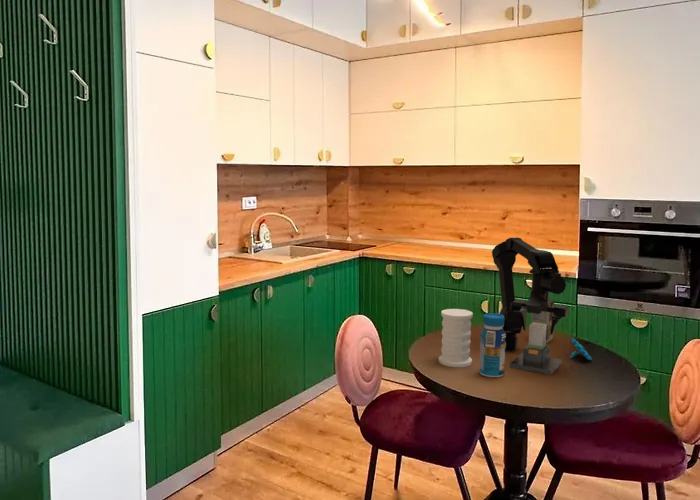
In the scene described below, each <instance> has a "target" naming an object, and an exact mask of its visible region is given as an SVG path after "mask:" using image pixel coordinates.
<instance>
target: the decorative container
mask: <svg viewBox="0 0 700 500" xmlns="http://www.w3.org/2000/svg"><path fill="white" fill-rule="evenodd" d="M440 314H441V317H442V321H441V325H442V328H441V329H442V330H441V335H442V338H441V349H440V351H441V355H439V356H438V363H439V364H441V365H442V366H445V367H450V368H468V367H470V366H471V365H472V364H473V359H472V357H470V354H471V348H470V347H471V343H472V342H471V335H472V331H471V328H472V321H471V320H472V318H473V316H474V315H473V314H474V313H473V312H472V311H470V310H468V309H463V308H446V309H443V310H441V313H440Z"/></svg>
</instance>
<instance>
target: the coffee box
mask: <svg viewBox="0 0 700 500" xmlns="http://www.w3.org/2000/svg"><path fill="white" fill-rule="evenodd" d="M548 302H549V307H555V300H554V299H550V298H549V299H548ZM552 316H554V314H553V313H552V312H544V311H542V312H541V313H540V314H536V313H531V317H530V318H531V319H530V324H531V323H533V322H536V323H543V324H547V326H546V344H548V343H549V342H550V341H552V340H553V335H554V333H553V334H552V335H551V325H552Z"/></svg>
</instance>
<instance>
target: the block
mask: <svg viewBox="0 0 700 500" xmlns="http://www.w3.org/2000/svg"><path fill="white" fill-rule="evenodd" d="M546 326H547V324H543V323H536V322H533V323H531V322H530V324H529V326H528V327H529V329H528V344H527V345H528V348H529V349H535V350H541V351H543V350H544V349H545V347H546V346H547V343H546Z"/></svg>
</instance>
